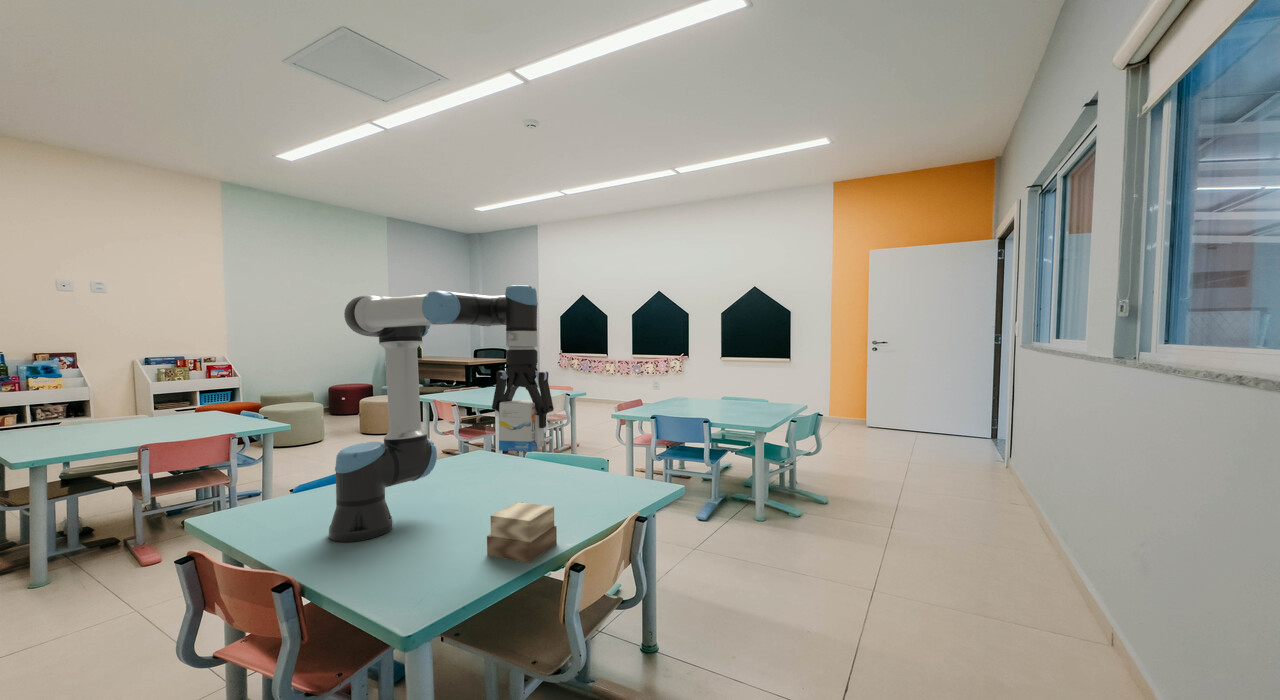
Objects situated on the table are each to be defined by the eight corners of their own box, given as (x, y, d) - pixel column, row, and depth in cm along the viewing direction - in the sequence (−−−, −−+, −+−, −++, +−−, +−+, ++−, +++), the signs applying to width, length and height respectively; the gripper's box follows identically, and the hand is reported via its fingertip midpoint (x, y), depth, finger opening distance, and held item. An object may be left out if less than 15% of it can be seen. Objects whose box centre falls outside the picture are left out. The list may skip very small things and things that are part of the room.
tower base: (487, 556, 122) (486, 536, 122) (517, 539, 133) (516, 520, 133) (529, 564, 118) (529, 543, 118) (556, 545, 129) (556, 525, 129)
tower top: (490, 536, 122) (490, 515, 122) (517, 521, 132) (517, 502, 132) (529, 542, 118) (529, 520, 118) (554, 526, 128) (554, 506, 128)
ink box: (530, 452, 120) (530, 402, 120) (497, 451, 122) (498, 402, 122) (545, 446, 129) (545, 399, 129) (514, 444, 130) (514, 399, 130)
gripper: (475, 348, 126) (476, 439, 126) (551, 348, 118) (552, 445, 118) (495, 348, 133) (495, 434, 133) (568, 348, 125) (568, 440, 125)
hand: (522, 439), depth 125 cm, fingers closed on ink box, 9 cm apart
